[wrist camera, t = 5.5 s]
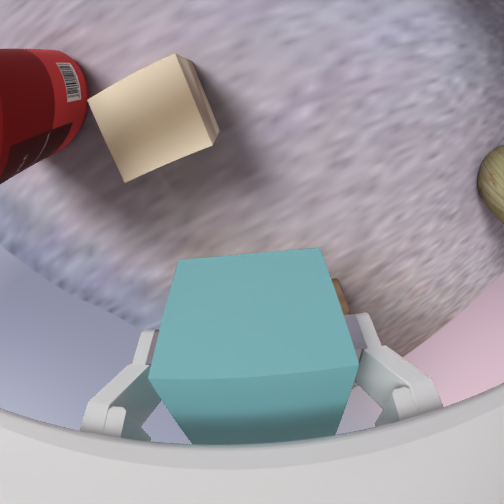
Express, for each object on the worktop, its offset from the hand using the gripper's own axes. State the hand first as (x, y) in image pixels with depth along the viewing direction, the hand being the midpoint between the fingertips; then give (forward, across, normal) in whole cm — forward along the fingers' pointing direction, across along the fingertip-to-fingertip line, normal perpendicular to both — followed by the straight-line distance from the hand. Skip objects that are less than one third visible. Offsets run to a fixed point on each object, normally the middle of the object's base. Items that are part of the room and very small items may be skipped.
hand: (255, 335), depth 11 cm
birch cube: (+12, +4, -7) cm, 15 cm away
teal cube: (+2, 0, 0) cm, 2 cm away
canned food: (+12, +13, -10) cm, 21 cm away
